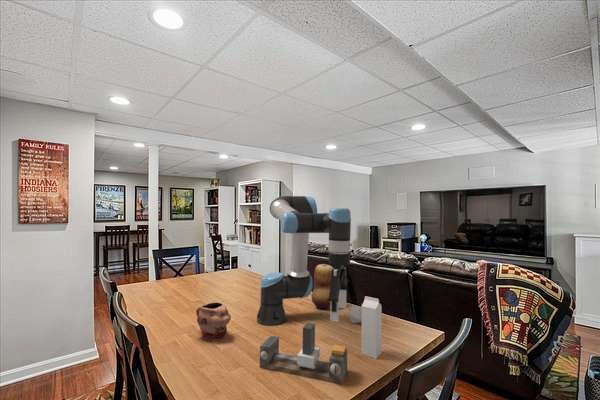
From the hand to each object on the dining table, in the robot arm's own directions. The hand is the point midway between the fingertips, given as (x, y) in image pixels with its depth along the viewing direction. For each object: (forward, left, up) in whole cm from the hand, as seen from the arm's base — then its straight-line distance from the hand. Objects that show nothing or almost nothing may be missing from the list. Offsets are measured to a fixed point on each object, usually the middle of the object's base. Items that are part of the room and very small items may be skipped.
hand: (338, 314), depth 99 cm
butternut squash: (-23, +67, -21) cm, 73 cm away
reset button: (0, 0, -15) cm, 15 cm away
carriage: (-11, 0, -19) cm, 21 cm away
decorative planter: (-60, +11, -21) cm, 64 cm away
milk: (+9, +20, -21) cm, 30 cm away
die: (-1, +51, -21) cm, 55 cm away
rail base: (-13, 0, -21) cm, 24 cm away
